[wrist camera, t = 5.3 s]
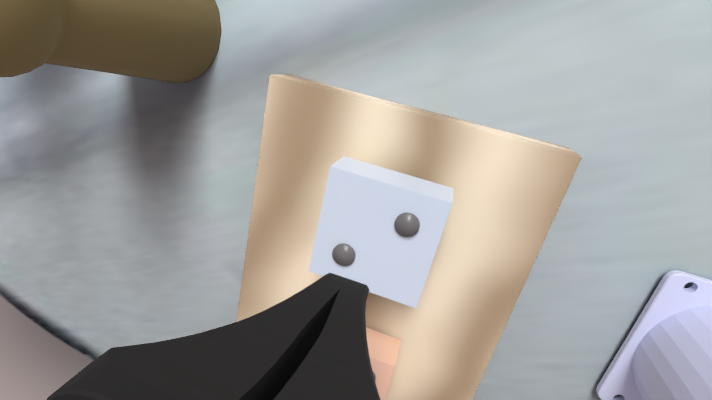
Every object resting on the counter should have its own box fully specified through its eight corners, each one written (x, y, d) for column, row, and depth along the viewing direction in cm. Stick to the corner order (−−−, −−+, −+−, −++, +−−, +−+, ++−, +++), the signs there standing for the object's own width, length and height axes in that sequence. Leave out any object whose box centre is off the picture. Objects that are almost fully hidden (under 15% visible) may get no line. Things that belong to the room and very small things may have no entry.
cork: (162, 101, 22) (-86, 128, 12) (103, 0, 21) (-221, -62, 11) (241, 47, 20) (19, 26, 10) (180, -68, 19) (-136, -222, 9)
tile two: (453, 188, 17) (452, 203, 15) (420, 284, 18) (416, 310, 16) (344, 156, 17) (328, 167, 16) (323, 251, 19) (307, 272, 17)
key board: (569, 148, 18) (581, 157, 16) (406, 521, 28) (401, 553, 26) (287, 74, 20) (269, 74, 18) (231, 444, 30) (216, 469, 28)
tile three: (401, 340, 21) (394, 368, 19) (378, 407, 22) (370, 440, 20) (313, 308, 21) (298, 332, 19) (298, 375, 23) (283, 404, 21)
